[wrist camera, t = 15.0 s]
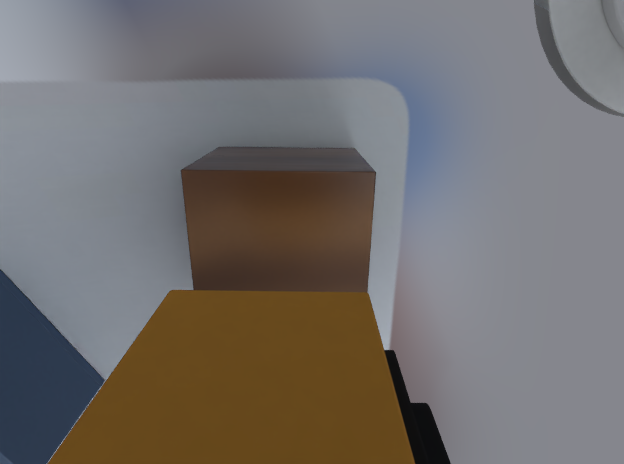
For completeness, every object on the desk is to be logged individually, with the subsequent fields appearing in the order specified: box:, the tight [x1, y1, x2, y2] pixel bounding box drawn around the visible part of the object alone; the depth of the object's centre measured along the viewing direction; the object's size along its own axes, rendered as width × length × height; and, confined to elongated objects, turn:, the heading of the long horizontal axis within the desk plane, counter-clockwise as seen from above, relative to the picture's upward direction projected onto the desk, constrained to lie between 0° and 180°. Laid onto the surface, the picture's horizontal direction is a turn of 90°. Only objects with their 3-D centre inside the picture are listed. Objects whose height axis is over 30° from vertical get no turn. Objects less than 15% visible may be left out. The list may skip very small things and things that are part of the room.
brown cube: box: [181, 147, 376, 293], centre depth 23 cm, size 9×9×8 cm
